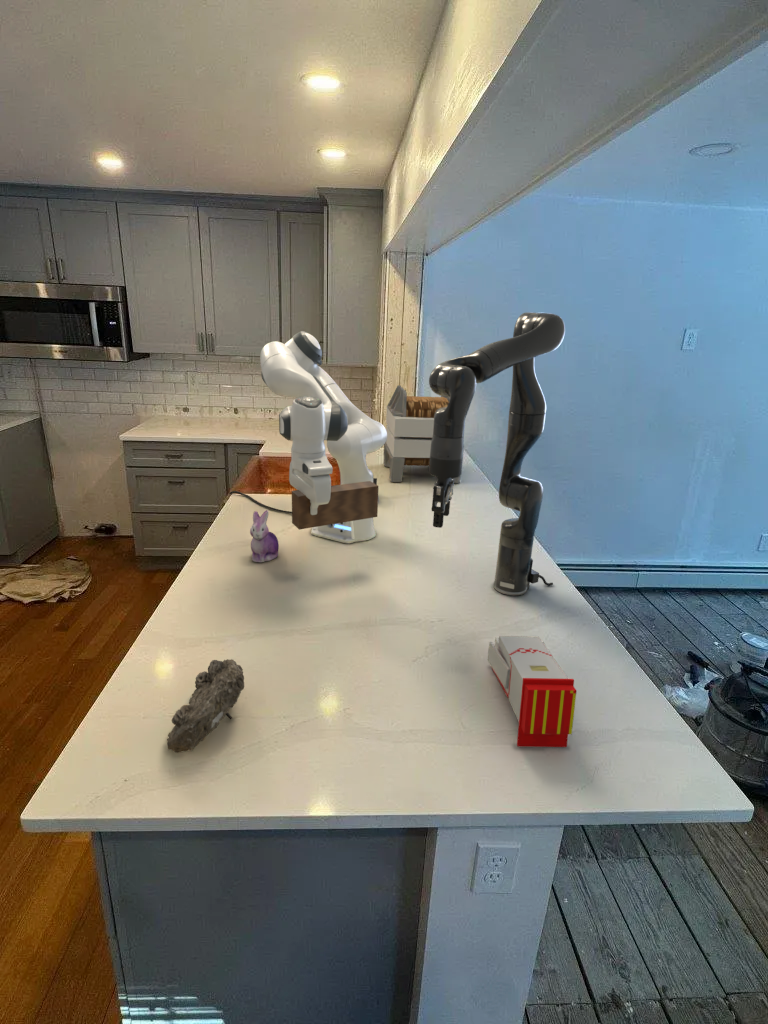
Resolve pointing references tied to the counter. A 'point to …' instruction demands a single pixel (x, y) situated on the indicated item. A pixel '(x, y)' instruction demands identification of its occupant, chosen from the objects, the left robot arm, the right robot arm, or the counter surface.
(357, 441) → the left robot arm
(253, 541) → the figurine
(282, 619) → the counter surface
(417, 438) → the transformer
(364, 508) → the bar
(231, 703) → the fossil
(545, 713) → the toy
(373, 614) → the counter surface
